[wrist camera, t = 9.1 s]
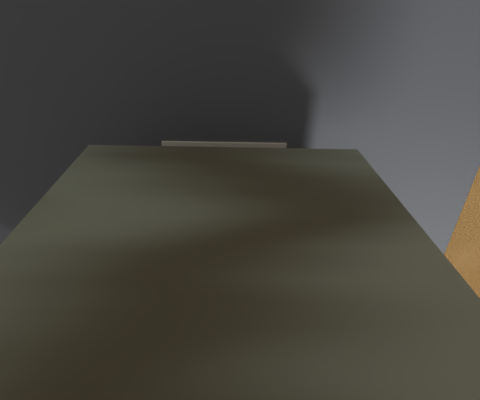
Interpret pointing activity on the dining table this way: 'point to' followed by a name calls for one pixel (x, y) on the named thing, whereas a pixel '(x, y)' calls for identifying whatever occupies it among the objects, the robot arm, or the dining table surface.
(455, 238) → the dining table surface
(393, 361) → the sage block
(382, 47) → the gray board
